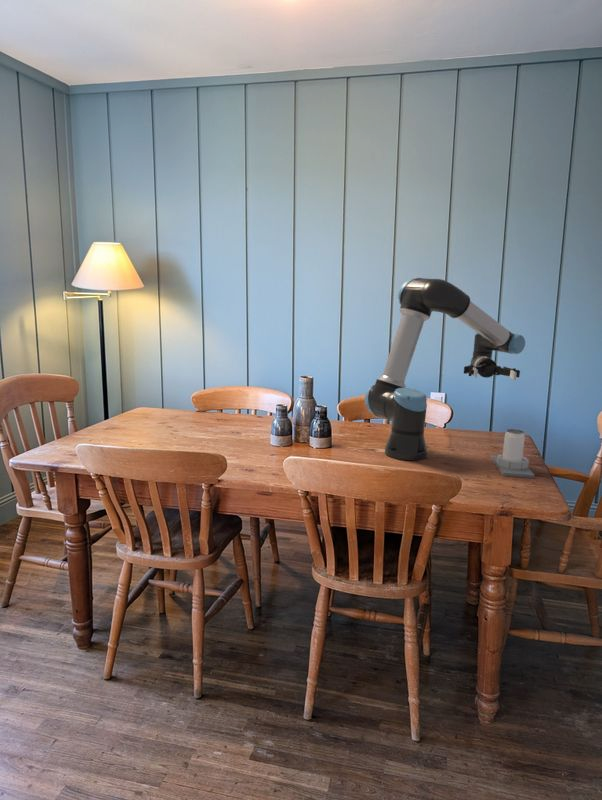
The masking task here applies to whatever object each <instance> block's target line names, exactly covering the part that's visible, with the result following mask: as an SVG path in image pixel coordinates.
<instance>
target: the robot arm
mask: <svg viewBox="0 0 602 800" xmlns="http://www.w3.org/2000/svg"><path fill="white" fill-rule="evenodd" d="M397 296H398V297H397V299H398V303H399V305H400V306H399V307H400V308H399V311H400V313H401V318H400V320H399V323H398V327H397V330H396V332H395V336H394V339H393V341H392V345H391V348H390V352H389V354H388V358H387V359H386V360H387V361H386V362H385V366H384V368H383V372H382V375H381V376H379V377H377V378H376V380H375V383H374V384H372V385H371V386H370V387H369V388H367V390H366V392H365V395H364V404H365V407H366V409H367V410H368V412H369V413H371V414H372V415H374V416H375V417H377V418H381V419H385V420H386V421H390V422H391V430H390V431H391V432H390V434H389V436H388V439H387V442H386V443H385V446H384V454H385V455H386V456H389V457H390V458H392V459H397V460H402V461H420V460H424V459H426V458H427V457H428V447H427V443H426V440H425V426H426V425H425V424H426V415H427V406H428V403H427V400H428V399H427V395H426V394H425V393H424V392H423V391H421V390H417V389H414V388H409V387H407V386H406V384H405V381H406V378H407V375H408V373H409V372H408V371H409V370H410V366H411V364H412V363H411V362H412V360H413V356H414V353H415V351H416V348H417V344H418V342H419V338H420V335H421V332H422V330H423V326H424V323H425V322H426V321H428V320H429V319H430V318H431V316H432V312H437V313H441V314H445V315H446V316H449V317H450V318H452V319H458V320H459V321H460V322H462V323H463V324H465V325H466V326H467V327H469V328H470V329H472V330H473V331H474V341H473V342H474V343H473V352H472V357H471V359H470V364H468V365H466V366H464V367H463V374H465V375H466V374H468V377H472V376H473V377H474V378H478V375H479V376H480V377H482V378H486V379H487V378H492V377H494V376H500V375H501V376H505V377H509V378H510V379H511V380H513V381H516V380H517V378H520V375H521V370H519V369H516V368H513V367H512V368H510V367H507V366H500V365H497V363H496V361H495V360H493V358H492V357H493V351H494V352H495V351H496V352H500V353H507V354H511V355H519V354H520V353H522V352H523V351H524V349H525V347H526V339H525V337H524V336H523V335H521V334H518V333H513V332H511V331H510V330H509V329H507V328H506V327H505V326H504V325H502V324H501V323H499V322H498V321H497V320H496V319H494V318H493V317H492V316H490V315H489V314H488V313H486V312H485V311H484V310H482V309H481V307H479V306H477V305H476V304H475V303H473V302H472V301H471V297H470V296H469V295H468V294H467V293H466V292H464V291H463V290H462V289H460V288H458V287H457V286H456V285H454V284H452V283H451V282H449V281H447V280H445V279H441V278H426V277H425V278H424V277H416V278H415V277H414V278H410V279H407V280H406V281H405V282H403V284H402V285H401V286H400V288H399V290H398V295H397Z"/></svg>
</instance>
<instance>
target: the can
mask: <svg viewBox="0 0 602 800" xmlns="http://www.w3.org/2000/svg"><path fill="white" fill-rule="evenodd" d="M525 440H526V439H525V432H524V431H523V430H520V429H515V428H509V429H506V432H505V434H504V439H503V448H502V454H503V455H502V458H503V459H506V460H509V461H519V462H521V461H522V456H523V455H524V447H525Z"/></svg>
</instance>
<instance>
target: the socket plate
mask: <svg viewBox="0 0 602 800" xmlns="http://www.w3.org/2000/svg"><path fill="white" fill-rule="evenodd" d="M502 455H503V453H500V454H497V455H493V454H492V455H491V459H492V461H493V462H494V464H495V466H496V467H497V469H498V471H499V472H500V473H501V475H502V476H504V477H515V478H524V479H525V478H526V479H535V473H533V472H532V470H531V469H530V468H529V463H530V460H529V459H528V458H527V457H526V456H522V461H521V462H519V461H509V460H506V459H503V458H502Z"/></svg>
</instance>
